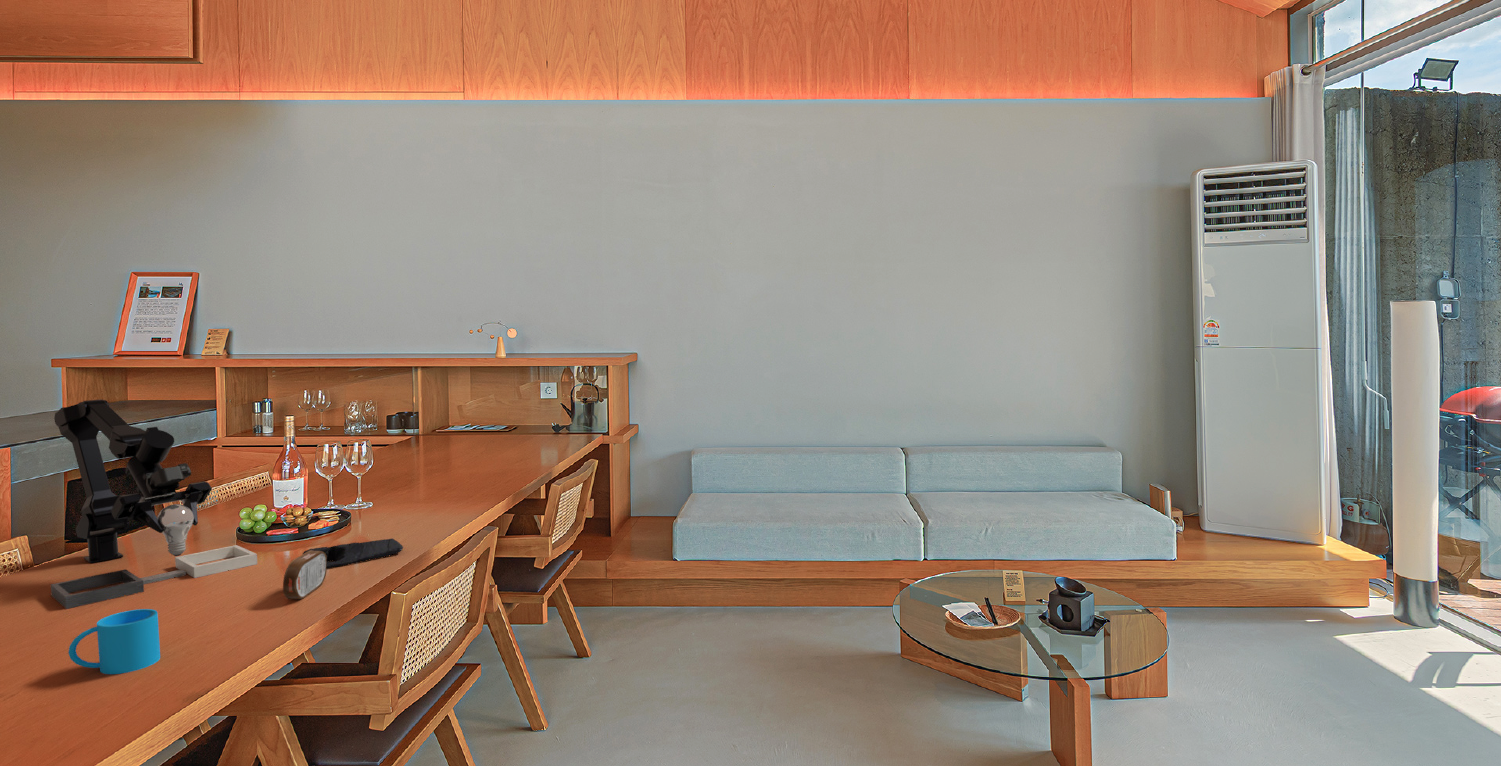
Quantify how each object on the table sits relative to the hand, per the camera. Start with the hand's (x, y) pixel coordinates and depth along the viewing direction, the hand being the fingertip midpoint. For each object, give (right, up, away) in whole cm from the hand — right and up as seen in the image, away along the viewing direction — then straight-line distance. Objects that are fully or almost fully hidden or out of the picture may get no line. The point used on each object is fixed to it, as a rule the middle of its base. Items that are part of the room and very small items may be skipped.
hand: (179, 527), depth 179 cm
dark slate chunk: (+32, -11, +16) cm, 37 cm away
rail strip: (-4, -12, 0) cm, 12 cm away
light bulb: (-1, -7, +1) cm, 7 cm away
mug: (+23, -15, -46) cm, 54 cm away
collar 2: (+2, -11, +10) cm, 15 cm away
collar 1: (-11, -12, -10) cm, 19 cm away
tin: (+35, -12, -10) cm, 38 cm away
